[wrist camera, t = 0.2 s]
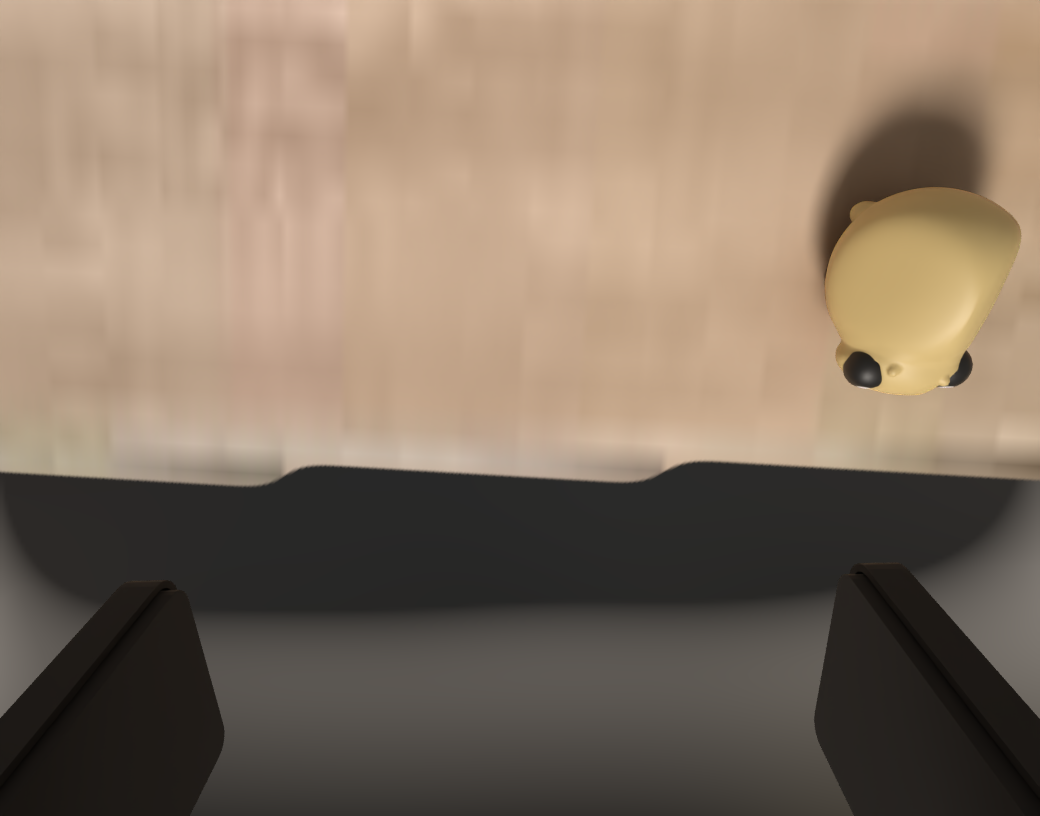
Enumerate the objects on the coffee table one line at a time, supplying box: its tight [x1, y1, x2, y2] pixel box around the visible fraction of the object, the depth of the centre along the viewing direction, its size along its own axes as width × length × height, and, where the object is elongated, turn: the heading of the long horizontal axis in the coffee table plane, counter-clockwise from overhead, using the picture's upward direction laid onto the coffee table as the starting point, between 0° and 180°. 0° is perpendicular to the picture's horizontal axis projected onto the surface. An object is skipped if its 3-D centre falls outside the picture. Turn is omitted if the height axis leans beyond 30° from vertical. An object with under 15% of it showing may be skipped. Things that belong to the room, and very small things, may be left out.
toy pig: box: [824, 187, 1021, 395], centre depth 39 cm, size 10×12×11 cm
